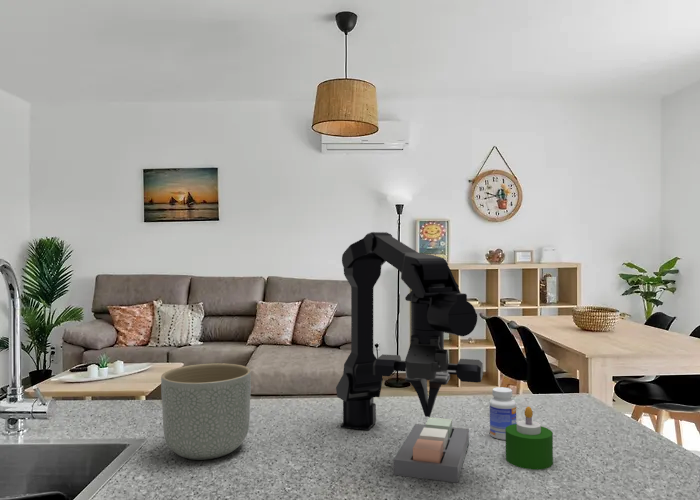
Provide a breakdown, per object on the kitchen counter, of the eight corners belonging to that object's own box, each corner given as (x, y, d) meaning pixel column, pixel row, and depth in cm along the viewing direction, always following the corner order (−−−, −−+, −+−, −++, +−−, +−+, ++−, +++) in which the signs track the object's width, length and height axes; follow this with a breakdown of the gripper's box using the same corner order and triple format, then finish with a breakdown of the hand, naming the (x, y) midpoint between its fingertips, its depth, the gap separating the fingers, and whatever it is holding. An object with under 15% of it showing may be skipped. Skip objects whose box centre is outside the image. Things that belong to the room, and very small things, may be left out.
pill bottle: (517, 441, 109) (517, 393, 109) (490, 439, 110) (490, 392, 110) (515, 432, 114) (514, 386, 114) (488, 430, 115) (488, 385, 115)
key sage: (425, 436, 106) (425, 424, 106) (429, 428, 110) (429, 417, 110) (449, 438, 104) (449, 426, 104) (452, 431, 108) (452, 419, 108)
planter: (266, 440, 110) (265, 366, 110) (220, 473, 94) (220, 386, 94) (196, 431, 116) (196, 361, 116) (142, 461, 100) (141, 379, 100)
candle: (529, 473, 93) (529, 416, 93) (496, 457, 101) (495, 404, 101) (562, 464, 97) (562, 409, 97) (528, 449, 105) (528, 398, 105)
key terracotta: (412, 461, 93) (412, 447, 93) (417, 451, 98) (417, 438, 98) (439, 464, 92) (439, 450, 92) (443, 454, 96) (443, 441, 96)
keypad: (393, 474, 93) (393, 459, 93) (415, 436, 112) (415, 423, 112) (457, 482, 90) (457, 467, 90) (468, 441, 109) (468, 428, 109)
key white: (419, 448, 99) (419, 435, 99) (424, 439, 104) (423, 427, 104) (444, 450, 98) (444, 437, 98) (447, 442, 102) (447, 429, 102)
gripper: (364, 332, 90) (364, 425, 90) (477, 337, 84) (478, 437, 84) (380, 323, 100) (381, 407, 100) (482, 327, 95) (483, 415, 95)
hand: (427, 416), depth 95 cm, fingers closed
